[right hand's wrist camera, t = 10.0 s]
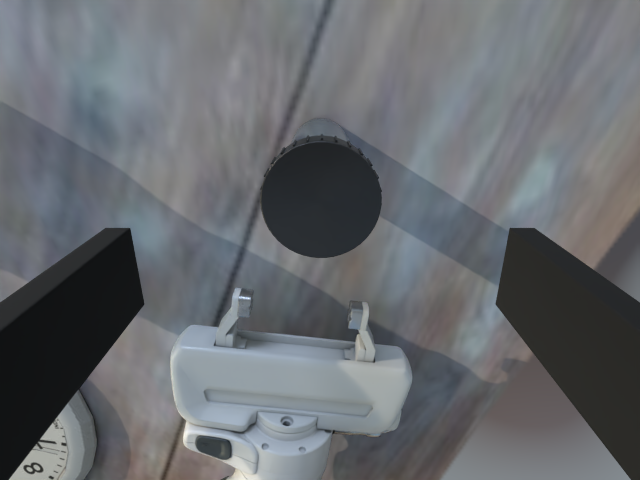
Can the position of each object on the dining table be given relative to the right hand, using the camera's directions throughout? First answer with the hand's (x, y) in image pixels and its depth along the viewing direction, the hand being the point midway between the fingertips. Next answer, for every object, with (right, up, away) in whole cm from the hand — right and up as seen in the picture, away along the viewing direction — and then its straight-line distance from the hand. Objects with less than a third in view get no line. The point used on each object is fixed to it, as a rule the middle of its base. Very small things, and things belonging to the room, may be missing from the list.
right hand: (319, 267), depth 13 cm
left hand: (-1, -4, +20) cm, 20 cm away
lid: (0, +3, +7) cm, 8 cm away
